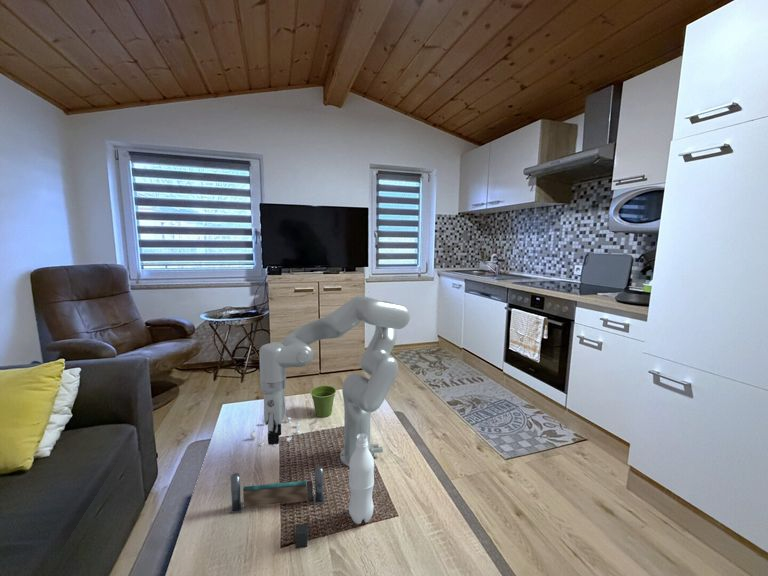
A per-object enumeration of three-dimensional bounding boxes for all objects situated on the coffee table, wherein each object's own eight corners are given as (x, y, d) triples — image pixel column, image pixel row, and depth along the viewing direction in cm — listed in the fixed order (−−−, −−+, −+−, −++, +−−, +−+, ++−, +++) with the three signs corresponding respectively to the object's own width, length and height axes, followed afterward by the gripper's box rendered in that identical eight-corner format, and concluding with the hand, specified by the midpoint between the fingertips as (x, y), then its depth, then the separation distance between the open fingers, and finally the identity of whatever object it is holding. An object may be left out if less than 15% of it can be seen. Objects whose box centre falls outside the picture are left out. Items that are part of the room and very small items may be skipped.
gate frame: (324, 495, 102) (324, 464, 100) (323, 544, 85) (323, 508, 84) (232, 505, 97) (231, 472, 96) (212, 559, 81) (210, 520, 79)
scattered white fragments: (248, 452, 123) (248, 442, 122) (253, 424, 142) (253, 415, 141) (301, 444, 128) (301, 435, 128) (299, 418, 147) (299, 410, 147)
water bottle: (360, 503, 99) (361, 426, 96) (378, 515, 95) (380, 435, 91) (343, 517, 94) (343, 437, 90) (361, 532, 89) (362, 447, 86)
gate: (312, 496, 100) (312, 478, 100) (312, 500, 99) (312, 482, 98) (245, 503, 97) (244, 485, 96) (243, 507, 96) (242, 489, 95)
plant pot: (309, 409, 155) (309, 386, 153) (334, 406, 158) (334, 384, 157) (311, 422, 144) (311, 398, 142) (338, 418, 147) (338, 395, 146)
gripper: (282, 395, 92) (283, 455, 94) (289, 372, 108) (290, 424, 111) (254, 397, 91) (256, 457, 93) (265, 373, 107) (267, 425, 109)
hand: (274, 438), depth 102 cm, fingers open, 3 cm apart
